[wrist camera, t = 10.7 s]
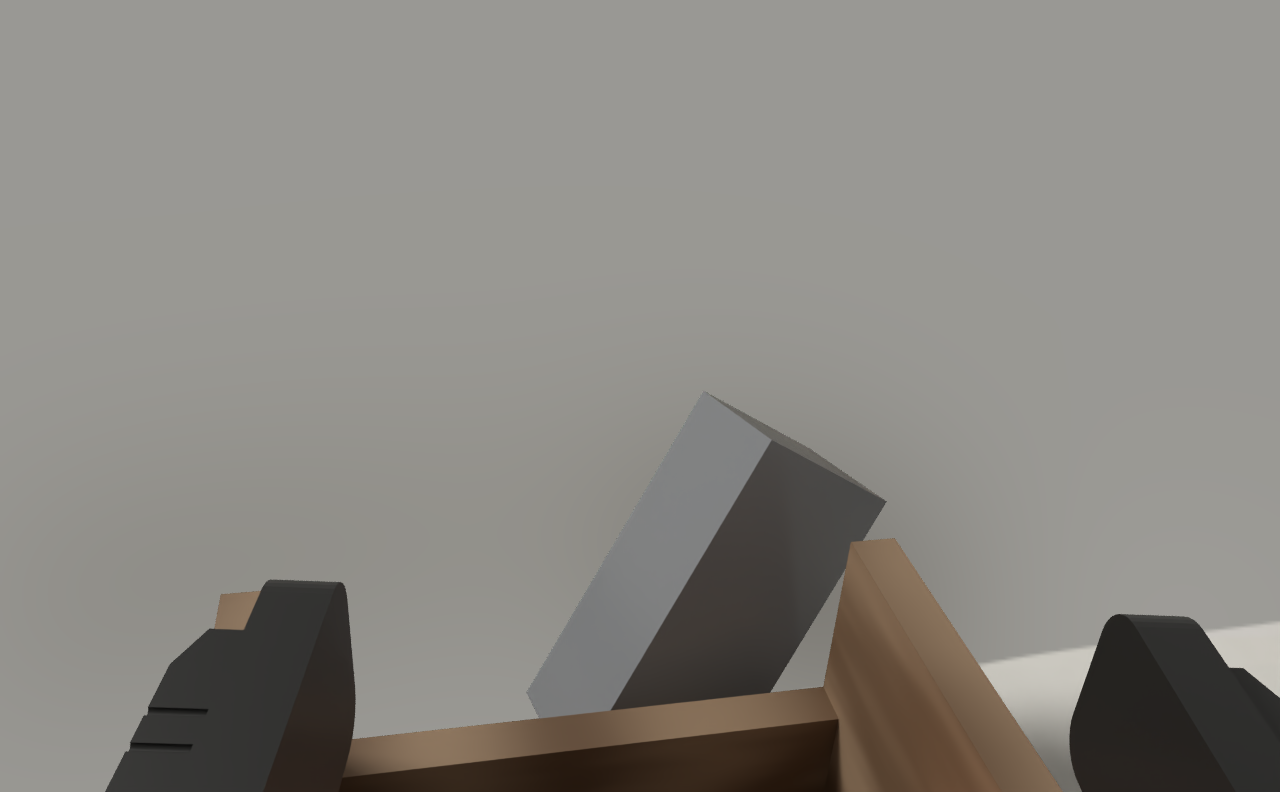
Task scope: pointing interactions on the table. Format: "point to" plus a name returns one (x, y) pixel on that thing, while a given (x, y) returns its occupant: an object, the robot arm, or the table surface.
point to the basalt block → (709, 572)
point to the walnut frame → (753, 720)
